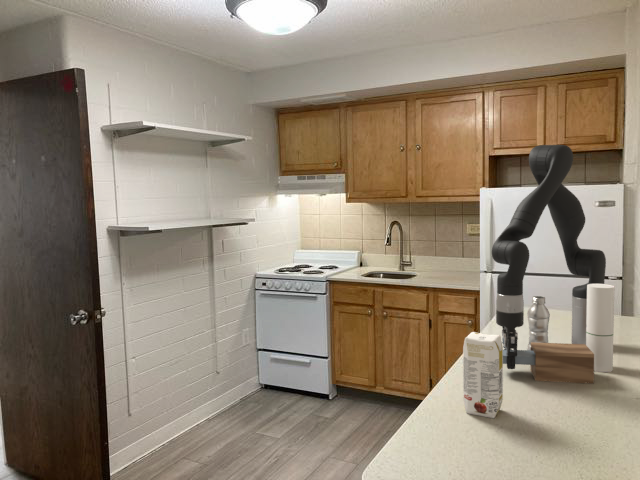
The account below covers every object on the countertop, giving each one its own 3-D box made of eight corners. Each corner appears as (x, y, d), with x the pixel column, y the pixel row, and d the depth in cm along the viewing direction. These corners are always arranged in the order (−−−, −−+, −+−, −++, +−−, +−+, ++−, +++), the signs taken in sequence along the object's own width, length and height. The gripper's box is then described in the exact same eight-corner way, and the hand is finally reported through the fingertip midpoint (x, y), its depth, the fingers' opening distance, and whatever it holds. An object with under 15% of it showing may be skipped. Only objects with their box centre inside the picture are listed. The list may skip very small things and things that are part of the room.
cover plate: (497, 357, 156) (497, 349, 155) (569, 359, 151) (569, 351, 151) (500, 363, 150) (500, 355, 150) (574, 366, 145) (575, 358, 145)
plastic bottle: (552, 362, 161) (552, 299, 159) (529, 362, 162) (529, 299, 160) (547, 356, 167) (548, 295, 165) (525, 355, 169) (525, 295, 167)
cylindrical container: (611, 365, 157) (613, 284, 155) (613, 373, 151) (615, 288, 148) (585, 362, 160) (586, 283, 158) (586, 370, 154) (587, 287, 151)
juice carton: (497, 420, 122) (497, 342, 121) (461, 413, 127) (460, 337, 125) (504, 409, 129) (504, 334, 127) (469, 402, 133) (469, 330, 131)
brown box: (530, 369, 156) (530, 342, 155) (584, 372, 152) (585, 344, 151) (535, 380, 147) (535, 351, 146) (593, 383, 143) (594, 354, 142)
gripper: (527, 314, 143) (527, 374, 144) (519, 303, 157) (519, 357, 158) (498, 314, 145) (498, 372, 146) (493, 303, 159) (493, 356, 160)
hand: (509, 364), depth 152 cm, fingers closed on cover plate, 6 cm apart
